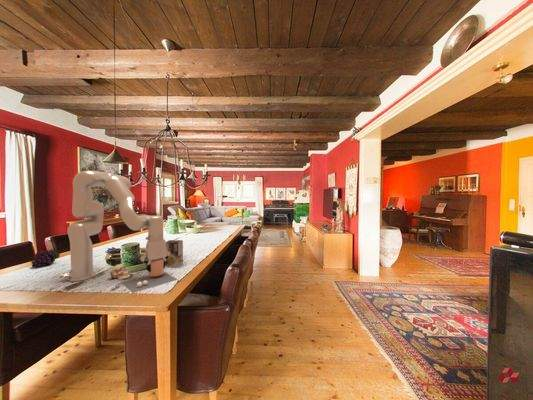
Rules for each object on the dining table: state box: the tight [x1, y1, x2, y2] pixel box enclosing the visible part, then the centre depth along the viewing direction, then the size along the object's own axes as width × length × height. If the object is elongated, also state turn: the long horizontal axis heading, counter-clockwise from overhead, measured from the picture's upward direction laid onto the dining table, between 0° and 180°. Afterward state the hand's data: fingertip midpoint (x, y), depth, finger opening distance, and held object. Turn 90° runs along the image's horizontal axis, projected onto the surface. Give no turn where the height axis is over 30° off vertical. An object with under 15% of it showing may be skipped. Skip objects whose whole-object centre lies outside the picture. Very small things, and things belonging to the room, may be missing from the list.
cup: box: [148, 258, 165, 276], centre depth 126 cm, size 7×7×8 cm
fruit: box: [30, 249, 61, 268], centre depth 145 cm, size 10×11×15 cm
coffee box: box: [165, 239, 184, 268], centre depth 146 cm, size 9×6×16 cm
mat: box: [120, 271, 178, 294], centre depth 120 cm, size 22×18×1 cm
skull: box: [106, 263, 134, 282], centre depth 125 cm, size 12×10×10 cm
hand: (156, 269), depth 126 cm, fingers closed on cup, 6 cm apart
